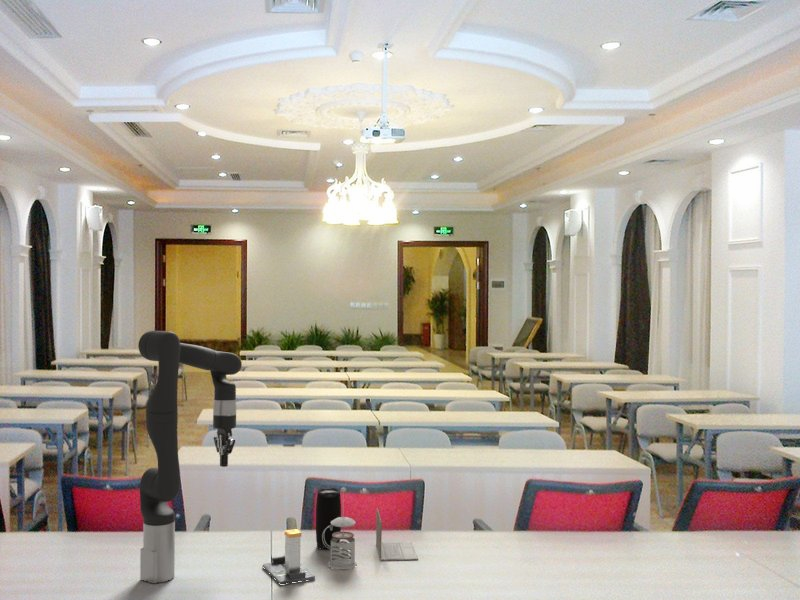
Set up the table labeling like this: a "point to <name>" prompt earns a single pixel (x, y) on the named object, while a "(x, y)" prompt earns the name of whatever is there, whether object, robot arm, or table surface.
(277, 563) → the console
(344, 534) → the french press
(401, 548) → the laptop
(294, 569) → the fader handle
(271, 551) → the table surface
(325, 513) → the portable speaker
